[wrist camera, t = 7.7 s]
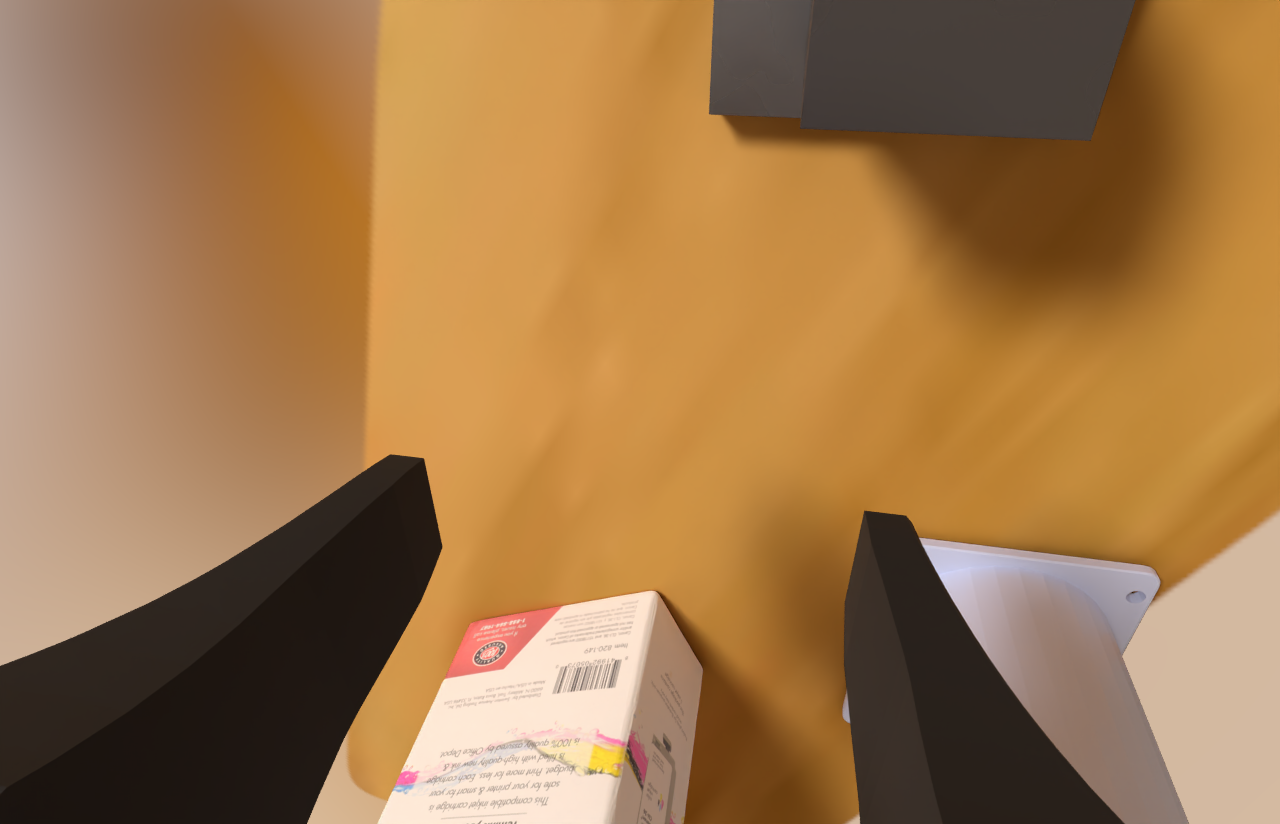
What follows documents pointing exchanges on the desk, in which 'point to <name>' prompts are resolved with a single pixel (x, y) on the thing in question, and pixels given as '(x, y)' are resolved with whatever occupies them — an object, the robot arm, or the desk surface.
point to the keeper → (758, 57)
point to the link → (961, 66)
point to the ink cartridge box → (559, 721)
